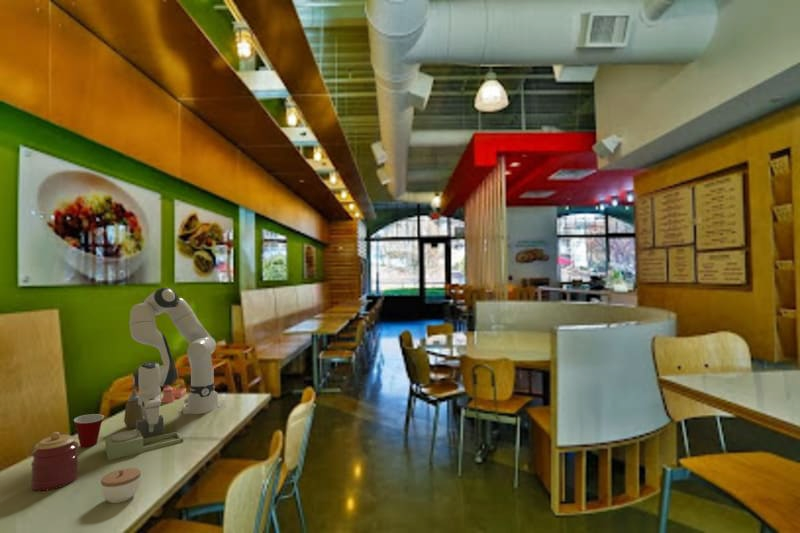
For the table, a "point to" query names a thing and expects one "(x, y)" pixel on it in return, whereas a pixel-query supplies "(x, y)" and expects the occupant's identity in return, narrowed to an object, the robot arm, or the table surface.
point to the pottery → (172, 394)
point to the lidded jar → (120, 484)
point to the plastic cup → (88, 429)
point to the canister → (54, 462)
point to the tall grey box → (144, 428)
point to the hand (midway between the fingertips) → (149, 429)
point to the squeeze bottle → (132, 411)
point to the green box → (135, 443)
